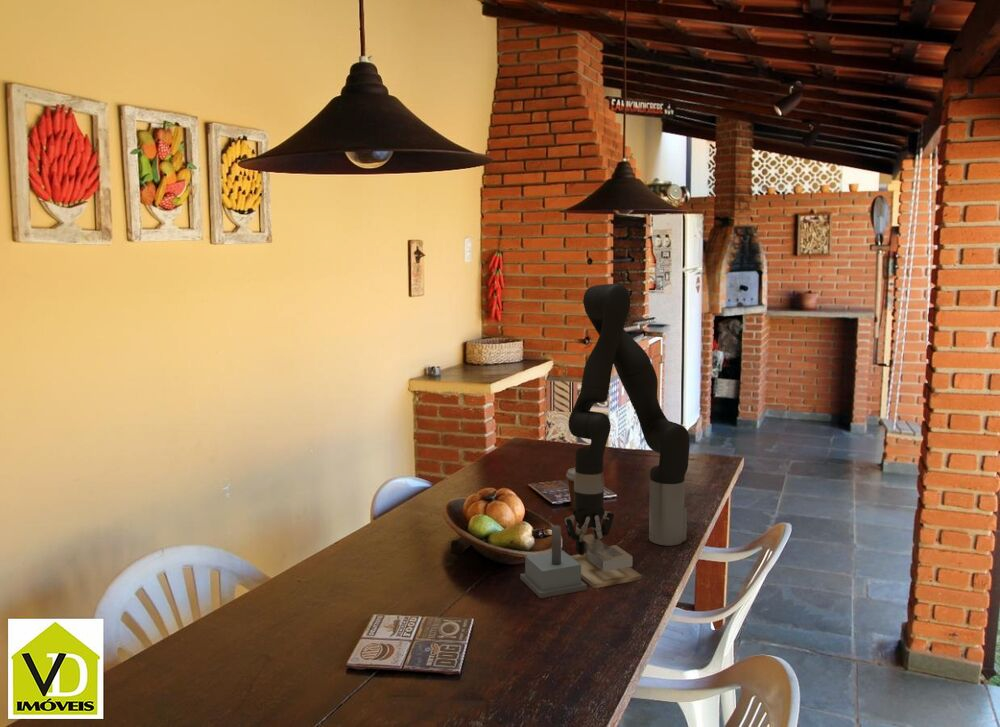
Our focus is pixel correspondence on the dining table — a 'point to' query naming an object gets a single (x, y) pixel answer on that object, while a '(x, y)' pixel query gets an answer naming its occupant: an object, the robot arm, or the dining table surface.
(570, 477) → the disposable coffee cup
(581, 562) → the folded beige cloth
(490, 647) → the dining table surface
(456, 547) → the hand tool
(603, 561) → the beige stepped block
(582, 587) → the block with upright post
